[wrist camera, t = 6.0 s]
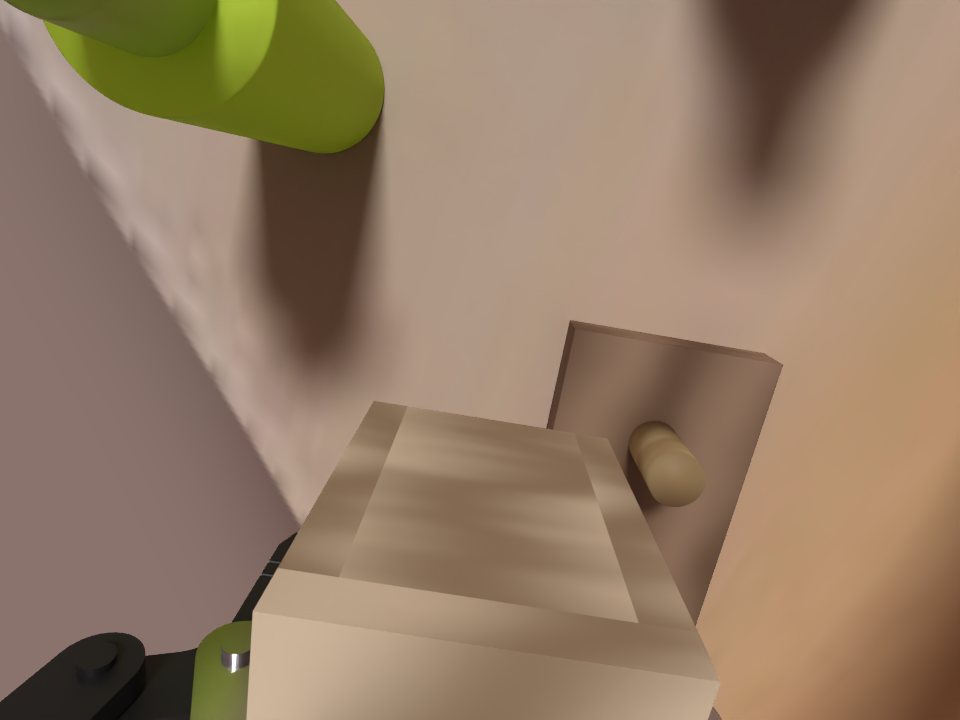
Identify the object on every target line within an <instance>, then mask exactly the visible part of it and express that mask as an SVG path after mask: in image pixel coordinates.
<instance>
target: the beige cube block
mask: <svg viewBox="0 0 960 720" xmlns="http://www.w3.org/2000/svg"><path fill="white" fill-rule="evenodd" d="M720 684H721V680H720V678H719V676H718V674H717V672H716V670H715V668H714V665H713V663H712V661H711V659H710V657H709V655H708V653H707V650H706V648H705V646H704V644H703V642H702V640H701V638H700V635H699V633H698V631H697V629H696V627H695V625H694V623H693V620H692V618H691V616H690V614H689V612H688V610H687V608H686V605H685V603H684V601H683V599H682V597H681V595H680V593H679V591H678V588H677V586H676V584H675V582H674V580H673V578H672V576H671V573H670V571H669V569H668V567H667V565H666V563H665V561H664V558H663V556H662V554H661V552H660V550H659V548H658V546H657V543H656V541H655V539H654V537H653V535H652V533H651V531H650V528H649V526H648V524H647V522H646V520H645V518H644V516H643V513H642V511H641V509H640V507H639V505H638V503H637V501H636V498H635V496H634V494H633V492H632V490H631V488H630V486H629V484H628V481H627V479H626V477H625V475H624V473H623V471H622V469H621V466H620V464H619V462H618V460H617V458H616V456H615V454H614V451H613V449H612V447H611V445H610V443H609V441H608V439H607V438H601V437H595V436H589V435H583V434H576V433H570V432H564V431H558V430H551V429H545V428H539V427H533V426H526V425H520V424H514V423H508V422H502V421H495V420H489V419H483V418H477V417H470V416H464V415H458V414H452V413H446V412H439V411H433V410H427V409H421V408H414V407H408V406H402V405H396V404H390V403H383V402H377V401H374V402H373V404H372V405H371V407H370V409H369V411H368V412H367V414H366V416H365V417H364V419H363V421H362V423H361V424H360V426H359V428H358V430H357V431H356V433H355V435H354V437H353V438H352V440H351V442H350V443H349V445H348V447H347V449H346V450H345V452H344V454H343V456H342V457H341V459H340V461H339V463H338V464H337V466H336V468H335V470H334V471H333V473H332V475H331V476H330V478H329V480H328V482H327V483H326V485H325V487H324V489H323V490H322V492H321V494H320V496H319V497H318V499H317V501H316V503H315V504H314V506H313V508H312V509H311V511H310V513H309V515H308V516H307V518H306V520H305V522H304V523H303V525H302V527H301V529H300V530H299V532H298V534H297V535H296V537H295V539H294V541H293V542H292V544H291V546H290V548H289V549H288V551H287V553H286V555H285V556H284V558H283V560H282V562H281V563H280V565H279V567H278V568H277V570H276V572H275V574H274V575H273V577H272V579H271V581H270V582H269V584H268V586H267V588H266V589H265V591H264V593H263V594H262V596H261V598H260V600H259V601H258V603H257V605H256V607H255V608H254V610H253V616H252V633H251V650H250V667H249V684H248V701H247V718H246V720H708V718H709V715H710V712H711V709H712V707H713V704H714V701H715V698H716V695H717V693H718V690H719V687H720Z"/></svg>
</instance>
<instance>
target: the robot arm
mask: <svg viewBox="0 0 960 720" xmlns="http://www.w3.org/2000/svg"><path fill="white" fill-rule="evenodd" d="M297 534H298V533H295V534H293V535H292V536H291V537H289V538H288V539H286V540H285V541H283V542H282V543H281V544H279V546H278V547H277V549H276V551H275V552H274V554H273V556H272V557H271V559H270V562H269V563H268V564H267V565H266V567H265V569H264V570H263V572H262V576H260V577H259V579H258V580H257V582H256V583H255V585H254V587H253V588H252V590H251V592H250V593H249V595H248V597H247V598H246V600H245V601H244V603H243V605H242V606H241V608H240V610H239V611H238V613H237V615H236V616H235V618H234V620H233V621H232V623H229V624H226V625H223V626H221V627H219V628H217V629H216V630H214V631H212V632H211V633H210V634H208V635H207V636H206V637H205V638H204V639H203V640H202V642H201V643H200V645H199V647H198V648H195V649H192V650H188V651H183V652H176V653H167V654H158V655H149V656H145V648H144V646H143V644H142V642H141V641H140V640H139V639H137V638H136V637H134V636H132V635H129V634H125V633H117V632H115V633H104V634H98V635H95V636H91V637H88V638H85V639H82V640H80V641H78V642H76V643H74V644H73V645H71V646H69V647H67V648H66V649H65V650H63V651H62V652H61V653H59V654H58V655H57V656H56V657H55V658H53V659H52V660H51V661H50V662H49V663H47V664H46V665H45V666H44V667H42V668H41V669H40V670H39V671H38V672H36V673H35V674H34V675H33V676H31V677H30V678H29V679H28V680H26V682H24V683H23V684H22V685H21V686H19V687H18V688H17V689H16V690H14V691H13V692H12V693H11V694H9V695H8V696H7V697H6V698H4V699H3V700H2V701H1V702H0V720H246V718H247V701H248V684H249V667H250V650H251V633H252V616H253V610H254V608H255V607H256V605H257V603H258V601H259V600H260V598H261V596H262V594H263V593H264V591H265V589H266V588H267V586H268V584H269V582H270V581H271V579H272V577H273V575H274V574H275V572H276V570H277V568H278V567H279V565H280V563H281V562H282V560H283V558H284V556H285V555H286V553H287V551H288V549H289V548H290V546H291V544H292V542H293V541H294V539H295V537H296V535H297ZM708 720H722V719H721V717H720V715H719V714H718V712H717V711H716V710H715V709H714V707H712V709H711V712H710V715H709V718H708Z"/></svg>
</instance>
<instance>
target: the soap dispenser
mask: <svg viewBox="0 0 960 720" xmlns="http://www.w3.org/2000/svg"><path fill="white" fill-rule="evenodd" d="M4 1H6V2H7V3H9V4H10V5H12V6H14V7H15V8H17V9H19V10H21V11H23V12H25V13H27V14H30V15H32V16H34V17H37V18H39V19H42V20H43V21H44V23H45V25H46V28H47V30H48V32H49V33H50V35H51V37H52V39H53V41H54V42H55V44H56V46H57V47H58V49H59V50H60V52H61V53H62V55H63V56H64V57H65V59H66V60H67V61H68V62H69V64H70V65H71V66H72V67H73V68H74V69H75V71H76V72H77V73H78V74H79V75H80V76H81V77H82V78H83V79H84V80H85V81H87V82H88V83H89V84H90V85H91V86H92V87H94V88H95V89H96V90H97V91H99V92H100V93H102V94H103V95H104V96H106V97H108V98H109V99H111V100H112V101H114V102H116V103H118V104H120V105H122V106H124V107H126V108H129V109H131V110H134V111H137V112H139V113H143V114H147V115H151V116H155V117H159V118H164V119H168V120H173V121H177V122H181V123H186V124H190V125H195V126H199V127H203V128H208V129H212V130H217V131H221V132H225V133H230V134H234V135H239V136H243V137H247V138H252V139H256V140H261V141H265V142H270V143H274V144H278V145H283V146H287V147H292V148H296V149H300V150H305V151H309V152H314V153H335V152H340V151H343V150H346V149H348V148H350V147H352V146H354V145H355V144H357V143H358V142H360V141H361V140H362V139H363V138H364V137H365V136H366V135H367V134H368V133H369V132H370V130H371V129H372V128H373V126H374V124H375V123H376V121H377V119H378V117H379V114H380V111H381V108H382V104H383V98H384V78H383V72H382V67H381V64H380V61H379V58H378V56H377V54H376V52H375V50H374V48H373V46H372V45H371V43H370V42H369V40H368V39H367V38H366V37H365V35H364V34H363V33H362V32H361V30H360V29H359V28H358V27H357V26H356V24H355V23H354V22H353V21H352V20H351V18H350V17H349V16H348V15H347V14H346V12H345V11H344V10H343V9H342V8H341V6H340V5H339V4H338V3H337V2H336V0H4Z"/></svg>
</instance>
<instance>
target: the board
mask: <svg viewBox="0 0 960 720" xmlns="http://www.w3.org/2000/svg"><path fill="white" fill-rule="evenodd" d="M782 367H783V365H782V364H781V363H779V362H777V361H776V360H774V359H772V358H771V357H769V356H767V355H766V354H764V353H758V352H752V351H747V350H741V349H735V348H729V347H723V346H717V345H712V344H706V343H700V342H694V341H688V340H682V339H677V338H671V337H665V336H659V335H653V334H647V333H642V332H636V331H630V330H624V329H618V328H612V327H607V326H601V325H595V324H589V323H583V322H577V321H571V320H570V323H569V328H568V332H567V337H566V342H565V346H564V351H563V355H562V360H561V364H560V369H559V374H558V378H557V383H556V387H555V392H554V397H553V401H552V406H551V410H550V415H549V419H548V424H547V429H551V430H558V431H564V432H570V433H576V434H583V435H589V436H595V437H601V438H607V439H608V441H609V443H610V445H611V447H612V449H613V451H614V454H615V456H616V458H617V460H618V462H619V464H620V466H621V469H622V471H623V473H624V475H625V477H626V479H627V481H628V484H629V486H630V488H631V490H632V492H633V494H634V496H635V498H636V501H637V503H638V505H639V507H640V509H641V511H642V513H643V516H644V518H645V520H646V522H647V524H648V526H649V528H650V531H651V533H652V535H653V537H654V539H655V541H656V543H657V546H658V548H659V550H660V552H661V554H662V556H663V558H664V561H665V563H666V565H667V567H668V569H669V571H670V573H671V576H672V578H673V580H674V582H675V584H676V586H677V588H678V591H679V593H680V595H681V597H682V599H683V601H684V603H685V605H686V608H687V610H688V612H689V614H690V616H691V618H692V620H693V623H694V625H695V626H696V623H697V620H698V617H699V614H700V611H701V608H702V605H703V602H704V599H705V596H706V593H707V590H708V587H709V584H710V581H711V578H712V575H713V572H714V569H715V566H716V563H717V560H718V557H719V554H720V551H721V548H722V545H723V542H724V539H725V536H726V533H727V530H728V527H729V524H730V521H731V518H732V515H733V513H734V510H735V507H736V504H737V501H738V498H739V495H740V492H741V489H742V486H743V483H744V480H745V477H746V474H747V471H748V468H749V465H750V462H751V459H752V456H753V453H754V450H755V447H756V444H757V441H758V438H759V435H760V432H761V429H762V426H763V423H764V420H765V417H766V414H767V411H768V408H769V405H770V402H771V399H772V396H773V393H774V390H775V387H776V384H777V382H778V379H779V376H780V373H781V370H782Z"/></svg>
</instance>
